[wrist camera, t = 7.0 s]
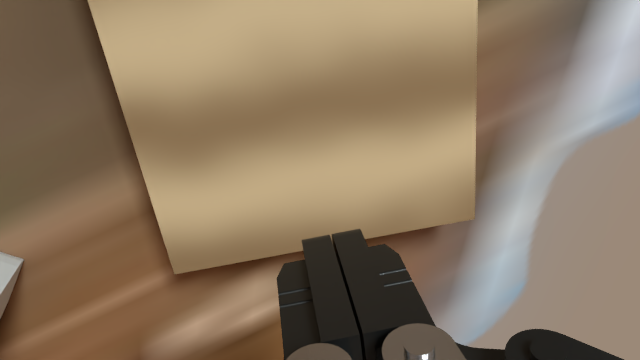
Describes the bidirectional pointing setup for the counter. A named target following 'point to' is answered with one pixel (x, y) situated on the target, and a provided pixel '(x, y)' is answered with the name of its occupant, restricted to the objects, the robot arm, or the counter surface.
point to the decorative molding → (8, 277)
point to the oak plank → (295, 118)
